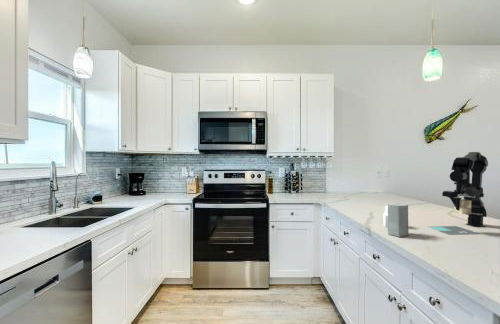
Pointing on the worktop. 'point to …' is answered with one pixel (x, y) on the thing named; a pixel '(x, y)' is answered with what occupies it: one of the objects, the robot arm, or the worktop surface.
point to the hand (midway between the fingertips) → (462, 210)
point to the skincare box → (398, 220)
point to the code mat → (453, 230)
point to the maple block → (464, 207)
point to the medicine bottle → (385, 217)
